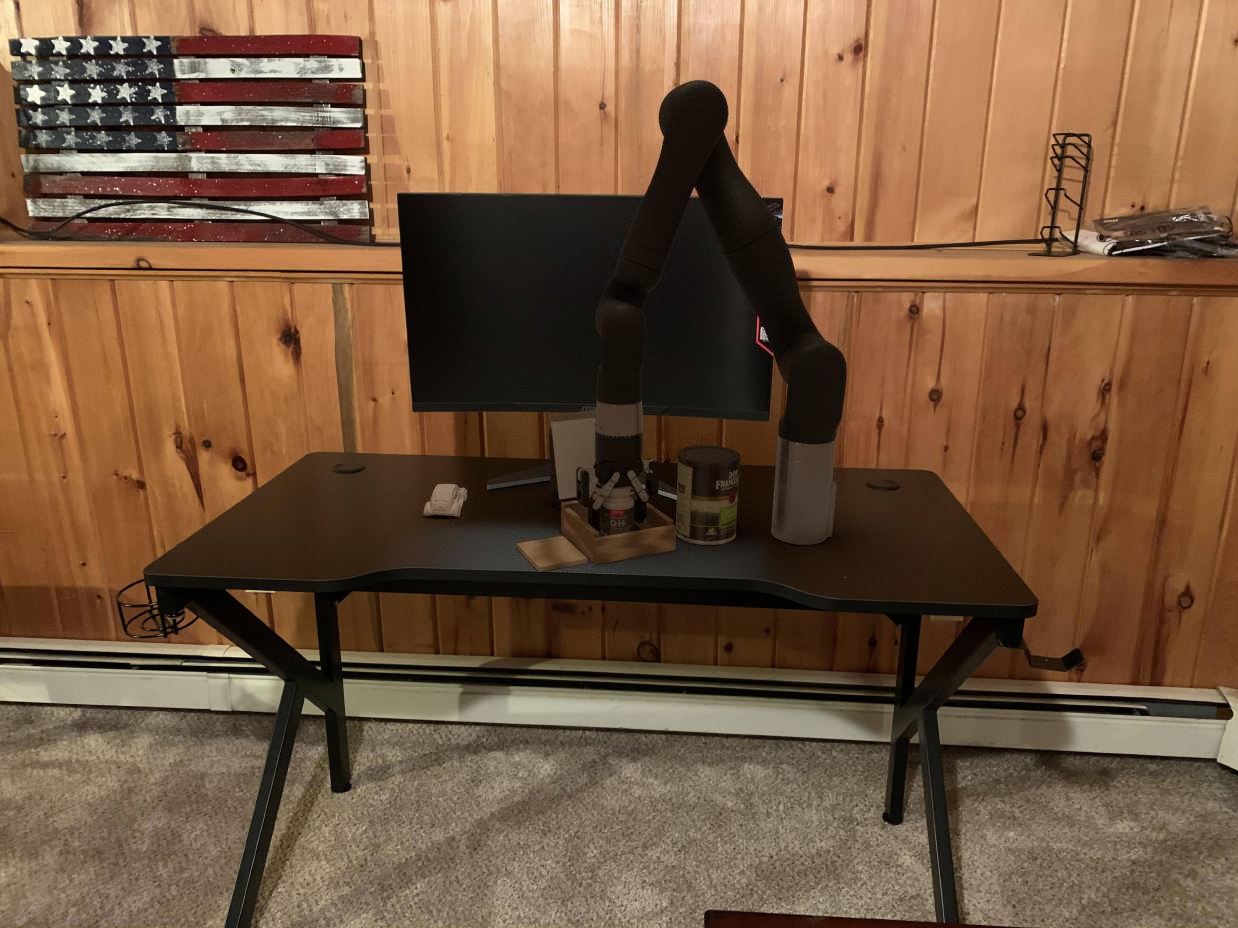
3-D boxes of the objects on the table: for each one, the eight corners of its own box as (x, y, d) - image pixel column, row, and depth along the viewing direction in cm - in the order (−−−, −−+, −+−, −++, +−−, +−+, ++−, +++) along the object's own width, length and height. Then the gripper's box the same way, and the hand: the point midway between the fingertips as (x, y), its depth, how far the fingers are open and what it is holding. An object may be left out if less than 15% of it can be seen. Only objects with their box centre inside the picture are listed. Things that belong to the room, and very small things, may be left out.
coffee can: (748, 533, 155) (753, 453, 151) (712, 550, 148) (717, 467, 143) (698, 518, 162) (702, 440, 157) (662, 534, 154) (664, 454, 150)
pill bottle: (611, 550, 147) (612, 492, 144) (594, 539, 152) (595, 482, 149) (639, 543, 150) (641, 487, 147) (622, 532, 154) (623, 477, 151)
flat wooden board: (562, 540, 151) (562, 535, 151) (587, 563, 142) (587, 558, 142) (516, 548, 148) (516, 543, 147) (539, 572, 139) (539, 567, 139)
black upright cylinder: (540, 507, 166) (539, 426, 161) (564, 493, 172) (563, 416, 168) (579, 515, 162) (579, 433, 157) (602, 501, 169) (602, 422, 164)
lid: (635, 488, 158) (633, 487, 159) (627, 406, 157) (625, 407, 158) (560, 499, 152) (558, 498, 153) (551, 415, 151) (549, 415, 152)
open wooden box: (636, 520, 160) (636, 491, 158) (675, 549, 148) (676, 518, 146) (561, 532, 154) (561, 502, 152) (596, 564, 142) (596, 531, 140)
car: (457, 521, 159) (456, 496, 158) (422, 520, 159) (420, 495, 158) (471, 497, 171) (470, 473, 169) (437, 496, 171) (436, 473, 169)
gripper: (586, 439, 139) (586, 540, 144) (670, 428, 145) (667, 526, 150) (567, 426, 145) (567, 523, 150) (648, 417, 151) (645, 511, 156)
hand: (617, 524), depth 150 cm, fingers open, 7 cm apart
